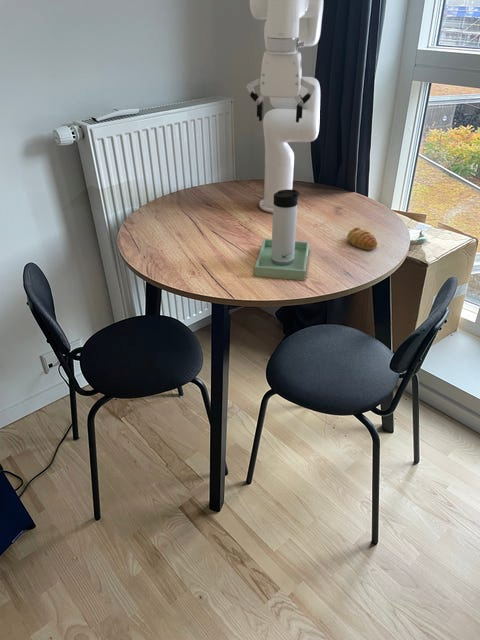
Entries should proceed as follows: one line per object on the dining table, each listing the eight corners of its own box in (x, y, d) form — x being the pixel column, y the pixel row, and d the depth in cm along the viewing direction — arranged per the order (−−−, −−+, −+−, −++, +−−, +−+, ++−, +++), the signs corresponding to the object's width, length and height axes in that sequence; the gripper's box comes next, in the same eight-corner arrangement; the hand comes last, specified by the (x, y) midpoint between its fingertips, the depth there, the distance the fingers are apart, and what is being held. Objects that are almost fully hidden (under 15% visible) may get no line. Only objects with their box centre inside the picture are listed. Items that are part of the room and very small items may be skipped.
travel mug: (288, 268, 131) (292, 197, 120) (267, 262, 134) (269, 192, 123) (298, 259, 136) (303, 189, 124) (277, 253, 138) (280, 184, 127)
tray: (263, 247, 143) (263, 238, 141) (308, 250, 141) (309, 241, 140) (254, 276, 129) (254, 266, 128) (304, 280, 127) (305, 271, 126)
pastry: (382, 247, 142) (384, 235, 140) (365, 253, 140) (367, 241, 137) (360, 235, 149) (362, 224, 147) (343, 241, 146) (345, 229, 144)
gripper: (319, 44, 119) (313, 118, 129) (249, 43, 122) (248, 116, 131) (317, 48, 113) (311, 125, 123) (244, 47, 116) (244, 122, 125)
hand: (279, 120), depth 127 cm, fingers open, 9 cm apart
